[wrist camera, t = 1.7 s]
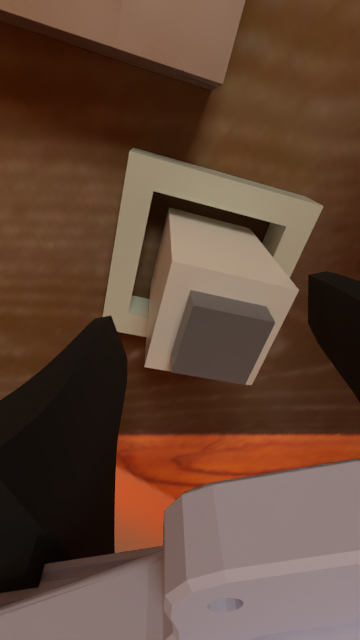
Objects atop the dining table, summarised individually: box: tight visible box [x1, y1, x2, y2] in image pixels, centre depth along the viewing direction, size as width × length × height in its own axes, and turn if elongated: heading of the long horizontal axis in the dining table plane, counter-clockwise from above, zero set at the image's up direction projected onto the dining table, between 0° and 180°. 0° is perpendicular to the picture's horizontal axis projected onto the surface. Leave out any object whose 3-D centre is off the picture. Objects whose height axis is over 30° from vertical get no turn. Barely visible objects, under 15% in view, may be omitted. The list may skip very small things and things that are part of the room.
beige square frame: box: [103, 147, 323, 337], centre depth 16 cm, size 8×8×2 cm
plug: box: [144, 207, 299, 385], centre depth 14 cm, size 4×4×8 cm
